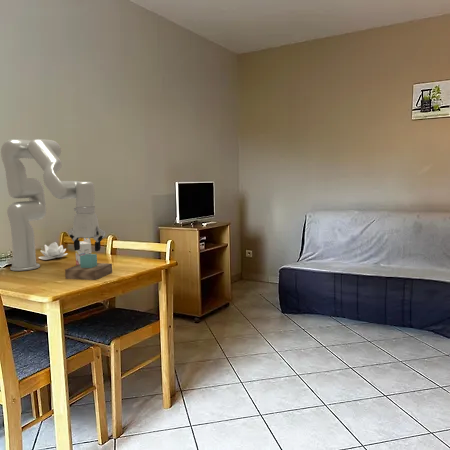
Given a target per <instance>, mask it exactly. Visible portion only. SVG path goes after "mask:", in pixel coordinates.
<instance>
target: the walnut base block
mask: <svg viewBox="0 0 450 450" xmlns="http://www.w3.org/2000/svg"><path fill="white" fill-rule="evenodd" d="M64 271H65V272H64V274H65V280H82V281H83V280H85V281H86V280H87V281H88V280H89V281H97V280H99V279H101V278H103V277H106V276H108V275H110V274H112V273H113V263H104V262H102V263H101V262H97V266H95V267H92V268H81V265H80V264H79V265H76V264H75V265H74V266H72V267H68V268H66V269H64Z"/></svg>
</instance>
